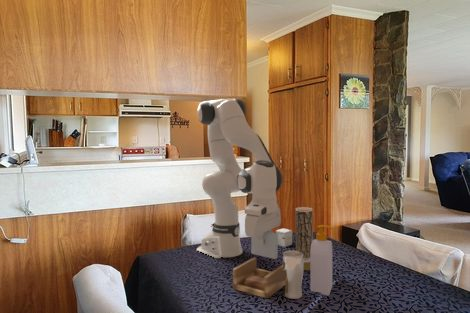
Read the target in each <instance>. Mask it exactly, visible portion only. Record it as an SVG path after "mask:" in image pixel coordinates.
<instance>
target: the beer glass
mask: <svg viewBox="0 0 470 313" xmlns="http://www.w3.org/2000/svg"><path fill="white" fill-rule="evenodd" d="M282 265H283V274H284V279H285V285H284V287H285V290H284V296H285V297H286V298H288V299H292V300H296V299H301V298H302V297H303V291H302V284H303V280H304V279H303V277H304V271H305V270H304V262H303V253H301V252H299V251H296V250H287V251H284V252H283V254H282Z"/></svg>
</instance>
